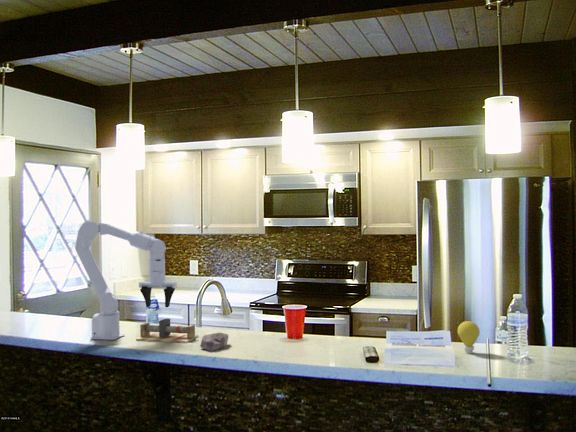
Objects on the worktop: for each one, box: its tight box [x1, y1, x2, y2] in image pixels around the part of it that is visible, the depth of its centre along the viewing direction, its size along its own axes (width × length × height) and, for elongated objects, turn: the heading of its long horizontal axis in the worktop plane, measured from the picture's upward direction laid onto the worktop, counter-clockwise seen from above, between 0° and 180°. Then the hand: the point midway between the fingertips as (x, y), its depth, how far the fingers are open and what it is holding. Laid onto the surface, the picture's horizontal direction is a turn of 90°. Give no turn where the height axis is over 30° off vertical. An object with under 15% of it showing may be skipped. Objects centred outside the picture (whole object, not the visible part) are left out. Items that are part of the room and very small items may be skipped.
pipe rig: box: [135, 322, 199, 344], centre depth 211 cm, size 20×10×5 cm, turn 75°
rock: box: [199, 332, 229, 352], centre depth 196 cm, size 8×11×5 cm
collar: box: [158, 318, 171, 338], centre depth 211 cm, size 2×5×6 cm, turn 165°
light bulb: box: [457, 320, 480, 355], centre depth 183 cm, size 7×7×10 cm
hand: (157, 306), depth 219 cm, fingers open, 7 cm apart
